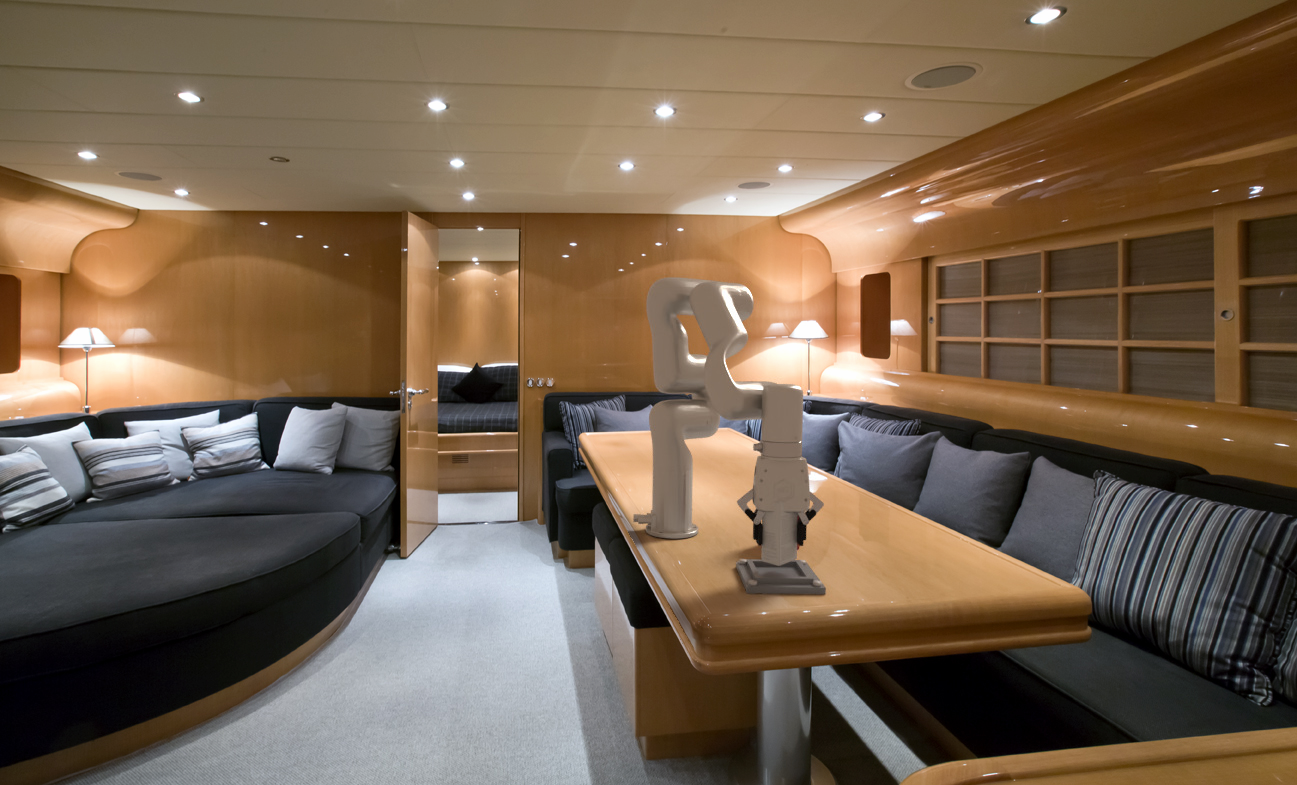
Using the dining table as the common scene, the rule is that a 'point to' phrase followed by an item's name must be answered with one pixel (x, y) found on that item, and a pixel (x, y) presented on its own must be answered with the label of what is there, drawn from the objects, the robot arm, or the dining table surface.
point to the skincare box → (779, 536)
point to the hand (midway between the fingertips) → (779, 543)
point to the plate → (779, 577)
